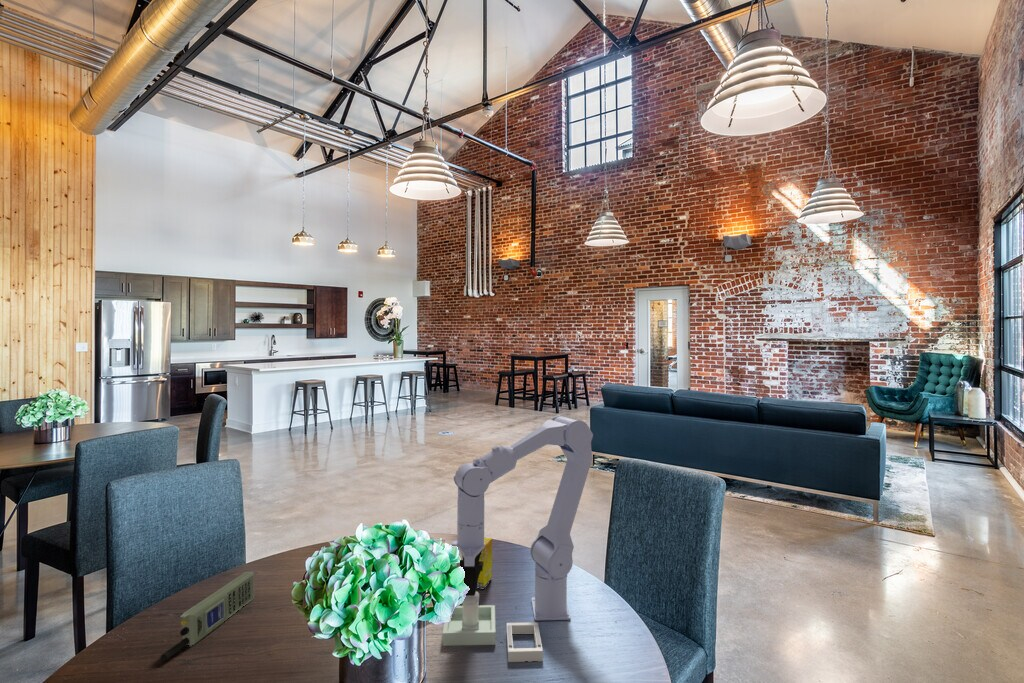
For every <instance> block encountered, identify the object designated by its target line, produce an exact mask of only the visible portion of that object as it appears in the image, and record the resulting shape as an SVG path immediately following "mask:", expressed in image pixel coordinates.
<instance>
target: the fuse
mask: <svg viewBox="0 0 1024 683" xmlns="http://www.w3.org/2000/svg"><path fill="white" fill-rule="evenodd" d="M479 602H480V593H479V592H478V591H477V590H476V593H475V595H474V596H466V597H465V599H464V601H463V602H462V606H463V621H462V630H463V631H470V630H478V629H479V606H480V605H479Z"/></svg>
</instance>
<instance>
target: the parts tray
mask: <svg viewBox="0 0 1024 683" xmlns="http://www.w3.org/2000/svg"><path fill="white" fill-rule="evenodd" d="M456 606H457V607H456V608H455V609H454V611H453V614H452V618H451V621H450V622H448V623H445V624H444V623H443V629H442V646H443V647H446V646H447V647H449V646H491V645H492V646H493V645H494V646H495V645H496V605H494V604H492V605H491V604H489V605H487V604H486V605H484V604H483V605H481V604H480V605H479V629H478V630H470V631H463V630H462V621H463V605H456Z"/></svg>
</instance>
